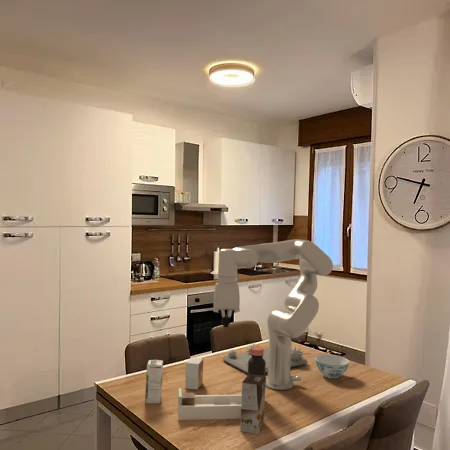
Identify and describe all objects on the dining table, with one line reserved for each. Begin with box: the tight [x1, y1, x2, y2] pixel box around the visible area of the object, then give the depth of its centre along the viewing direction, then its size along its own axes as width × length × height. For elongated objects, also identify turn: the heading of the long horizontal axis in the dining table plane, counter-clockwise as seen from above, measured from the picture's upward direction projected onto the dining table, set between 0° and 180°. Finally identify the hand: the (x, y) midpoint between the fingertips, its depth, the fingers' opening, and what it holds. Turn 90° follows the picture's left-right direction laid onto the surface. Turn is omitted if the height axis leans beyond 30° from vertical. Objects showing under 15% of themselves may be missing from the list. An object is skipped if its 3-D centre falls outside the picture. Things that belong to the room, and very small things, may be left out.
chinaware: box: [314, 354, 350, 379], centre depth 193 cm, size 15×15×8 cm
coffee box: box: [239, 374, 267, 435], centre depth 142 cm, size 9×6×16 cm
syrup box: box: [144, 359, 164, 404], centre depth 160 cm, size 6×6×14 cm
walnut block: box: [182, 392, 195, 406], centre depth 150 cm, size 4×4×4 cm
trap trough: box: [177, 387, 242, 421], centre depth 152 cm, size 28×10×8 cm, turn 97°
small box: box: [184, 357, 204, 391], centre depth 176 cm, size 8×6×10 cm
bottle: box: [247, 346, 266, 376], centre depth 164 cm, size 7×7×20 cm
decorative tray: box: [222, 343, 308, 375], centre depth 208 cm, size 35×26×10 cm
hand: (225, 326), depth 167 cm, fingers closed
